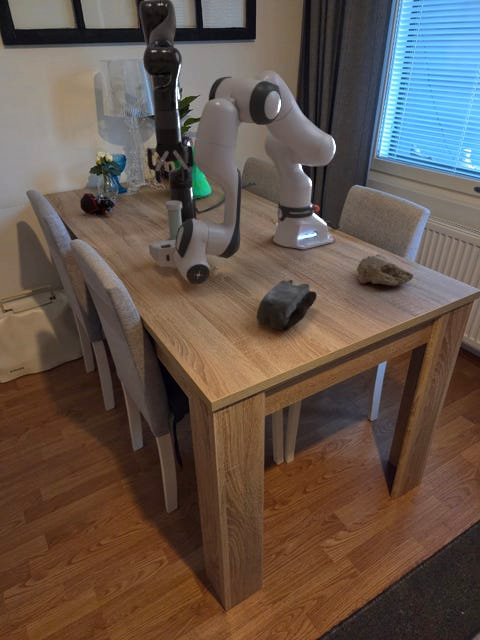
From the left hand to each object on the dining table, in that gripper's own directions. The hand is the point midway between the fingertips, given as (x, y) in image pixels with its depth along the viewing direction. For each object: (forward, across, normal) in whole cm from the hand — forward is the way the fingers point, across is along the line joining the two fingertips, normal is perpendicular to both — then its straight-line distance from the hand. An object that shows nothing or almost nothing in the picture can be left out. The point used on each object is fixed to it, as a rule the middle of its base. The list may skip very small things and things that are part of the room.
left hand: (172, 181), depth 140 cm
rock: (+26, -20, +49) cm, 59 cm away
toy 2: (+26, -20, -71) cm, 78 cm away
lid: (+7, 0, 0) cm, 7 cm away
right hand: (+19, 0, -1) cm, 19 cm away
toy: (+26, +24, -54) cm, 64 cm away
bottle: (+26, 0, 0) cm, 26 cm away
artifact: (+26, -57, +36) cm, 72 cm away
